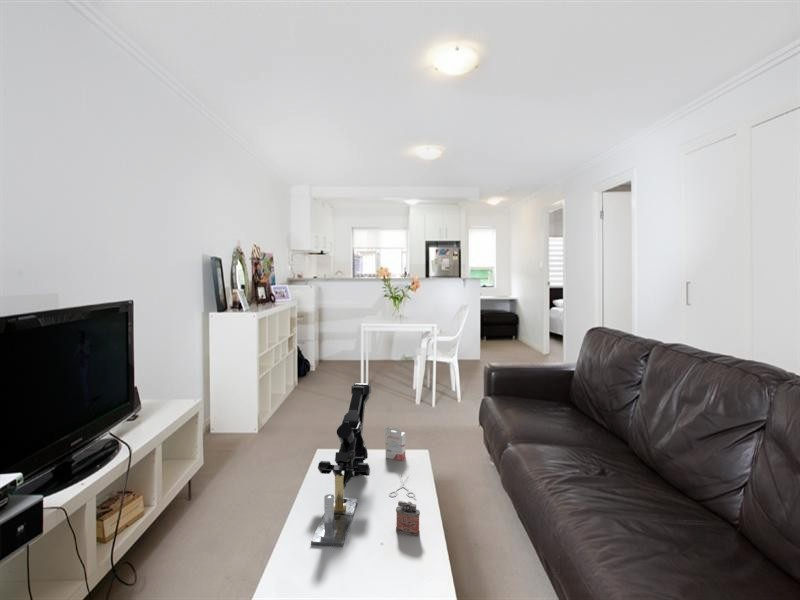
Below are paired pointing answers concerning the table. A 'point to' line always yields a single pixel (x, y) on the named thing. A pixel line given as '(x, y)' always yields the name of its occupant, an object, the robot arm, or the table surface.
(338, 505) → the gold tapered block
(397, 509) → the lighter
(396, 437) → the ink cartridge box
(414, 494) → the scissors
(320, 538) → the bolt plate
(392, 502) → the table surface
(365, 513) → the table surface
